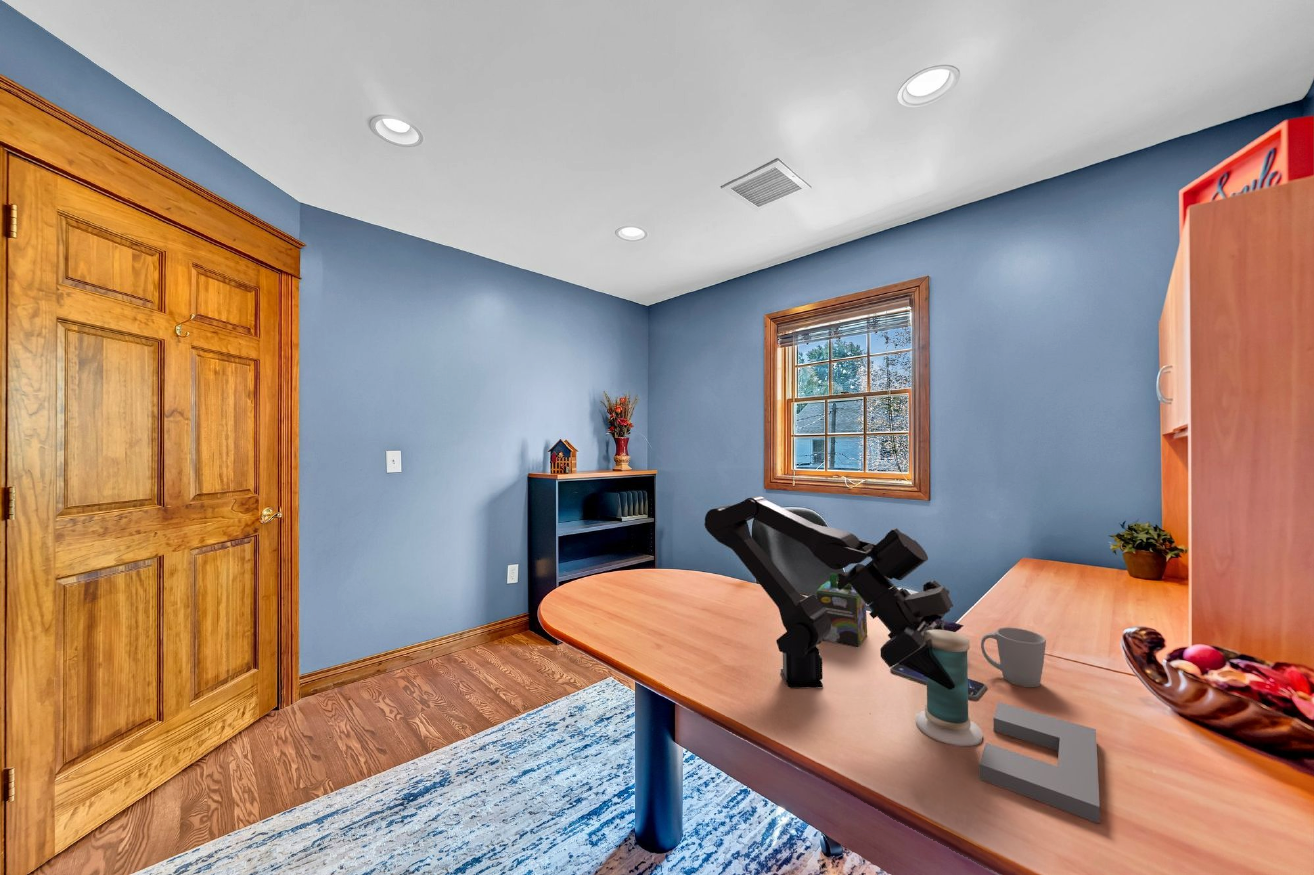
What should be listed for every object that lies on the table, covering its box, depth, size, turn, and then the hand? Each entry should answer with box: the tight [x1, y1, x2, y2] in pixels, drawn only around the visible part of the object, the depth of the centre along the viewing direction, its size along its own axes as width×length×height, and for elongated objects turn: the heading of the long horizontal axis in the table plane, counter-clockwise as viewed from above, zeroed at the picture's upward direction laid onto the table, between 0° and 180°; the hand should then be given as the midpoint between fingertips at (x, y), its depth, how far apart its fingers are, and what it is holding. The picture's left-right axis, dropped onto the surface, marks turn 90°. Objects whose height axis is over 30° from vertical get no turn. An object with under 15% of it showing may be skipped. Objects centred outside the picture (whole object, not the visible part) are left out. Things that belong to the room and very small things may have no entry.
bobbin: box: [924, 630, 972, 731], centre depth 77 cm, size 6×6×13 cm
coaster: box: [915, 709, 983, 747], centre depth 77 cm, size 9×9×1 cm
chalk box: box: [815, 572, 868, 648], centre depth 113 cm, size 9×9×15 cm
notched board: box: [978, 701, 1101, 824], centre depth 69 cm, size 12×20×2 cm, turn 139°
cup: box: [980, 627, 1047, 688], centre depth 92 cm, size 8×10×8 cm
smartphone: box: [889, 663, 988, 701], centre depth 92 cm, size 7×1×15 cm
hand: (956, 680), depth 76 cm, fingers closed on bobbin, 6 cm apart
